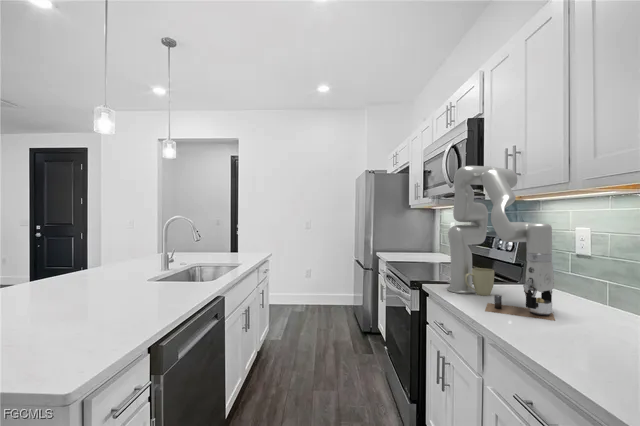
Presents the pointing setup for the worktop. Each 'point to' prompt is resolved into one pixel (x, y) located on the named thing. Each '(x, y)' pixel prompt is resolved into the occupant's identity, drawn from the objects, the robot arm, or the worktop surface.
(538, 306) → the white octagonal block
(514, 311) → the base board
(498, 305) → the stand rod
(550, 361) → the worktop surface
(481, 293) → the mug
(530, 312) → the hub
